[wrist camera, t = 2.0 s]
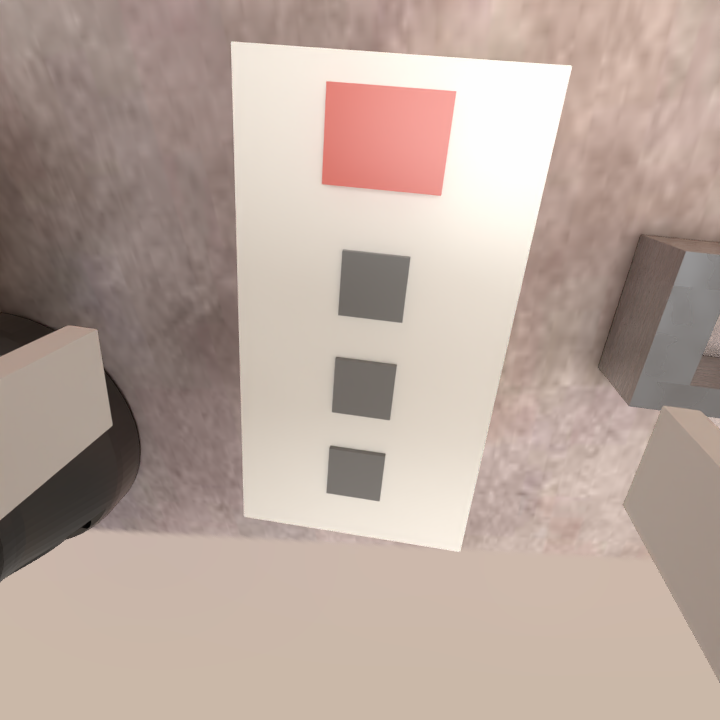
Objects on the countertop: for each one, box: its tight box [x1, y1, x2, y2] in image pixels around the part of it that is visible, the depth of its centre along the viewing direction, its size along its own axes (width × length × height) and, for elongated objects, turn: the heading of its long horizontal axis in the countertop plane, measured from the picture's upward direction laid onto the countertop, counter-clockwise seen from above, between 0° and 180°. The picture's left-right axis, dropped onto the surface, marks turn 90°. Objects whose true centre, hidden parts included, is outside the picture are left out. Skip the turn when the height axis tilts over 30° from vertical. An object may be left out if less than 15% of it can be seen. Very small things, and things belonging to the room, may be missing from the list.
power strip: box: [231, 42, 572, 552], centre depth 18 cm, size 16×9×9 cm, turn 175°
